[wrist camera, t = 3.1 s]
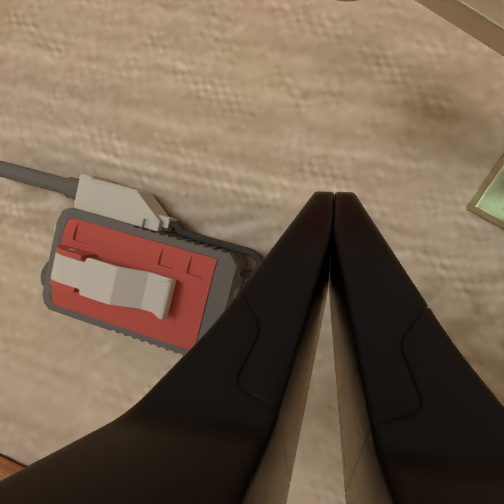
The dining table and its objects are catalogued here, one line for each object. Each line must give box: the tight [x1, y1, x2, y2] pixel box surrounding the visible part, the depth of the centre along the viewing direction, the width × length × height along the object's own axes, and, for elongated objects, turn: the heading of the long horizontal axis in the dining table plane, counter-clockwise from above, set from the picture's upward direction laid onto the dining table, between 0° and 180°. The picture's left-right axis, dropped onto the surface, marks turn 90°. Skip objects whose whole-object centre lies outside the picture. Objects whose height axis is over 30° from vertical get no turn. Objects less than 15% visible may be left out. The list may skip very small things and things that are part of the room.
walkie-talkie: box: [0, 161, 263, 356], centre depth 22 cm, size 9×4×20 cm
